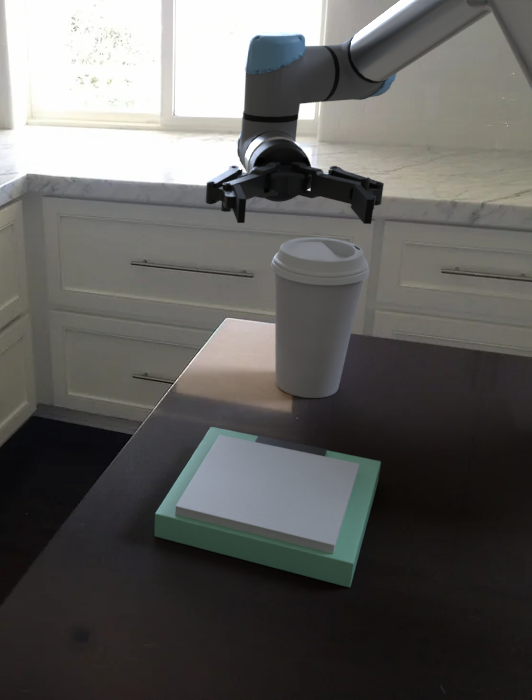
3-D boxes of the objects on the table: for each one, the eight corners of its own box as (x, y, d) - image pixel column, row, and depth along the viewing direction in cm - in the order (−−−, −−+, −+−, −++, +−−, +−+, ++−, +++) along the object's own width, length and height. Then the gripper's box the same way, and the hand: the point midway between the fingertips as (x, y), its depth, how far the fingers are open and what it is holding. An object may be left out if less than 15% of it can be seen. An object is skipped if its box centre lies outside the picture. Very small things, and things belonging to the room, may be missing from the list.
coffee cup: (352, 411, 86) (371, 268, 80) (255, 398, 89) (266, 259, 83) (355, 371, 95) (373, 239, 88) (266, 360, 97) (277, 231, 91)
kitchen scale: (209, 446, 81) (211, 418, 79) (377, 482, 75) (382, 452, 73) (153, 536, 68) (154, 504, 67) (350, 588, 62) (355, 554, 61)
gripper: (370, 195, 114) (417, 245, 95) (180, 194, 116) (188, 243, 97) (378, 137, 111) (428, 177, 92) (182, 138, 113) (191, 176, 93)
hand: (305, 211), depth 94 cm, fingers open, 13 cm apart
